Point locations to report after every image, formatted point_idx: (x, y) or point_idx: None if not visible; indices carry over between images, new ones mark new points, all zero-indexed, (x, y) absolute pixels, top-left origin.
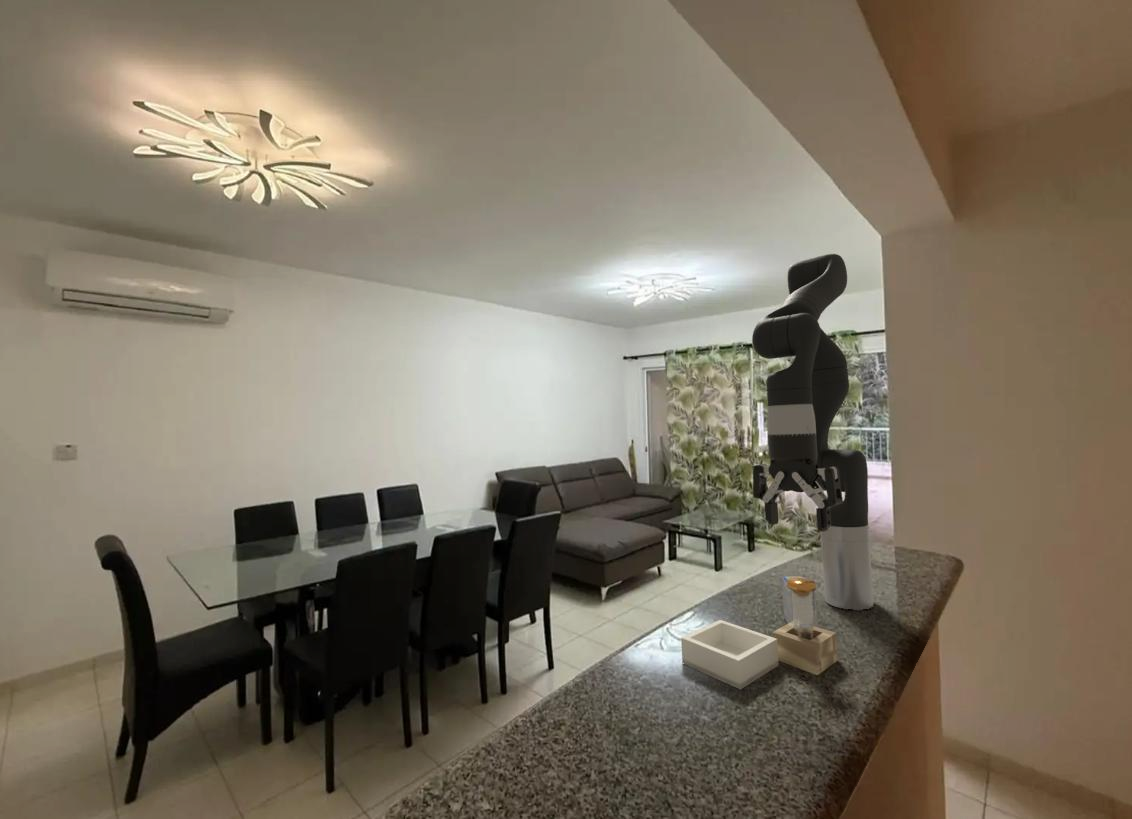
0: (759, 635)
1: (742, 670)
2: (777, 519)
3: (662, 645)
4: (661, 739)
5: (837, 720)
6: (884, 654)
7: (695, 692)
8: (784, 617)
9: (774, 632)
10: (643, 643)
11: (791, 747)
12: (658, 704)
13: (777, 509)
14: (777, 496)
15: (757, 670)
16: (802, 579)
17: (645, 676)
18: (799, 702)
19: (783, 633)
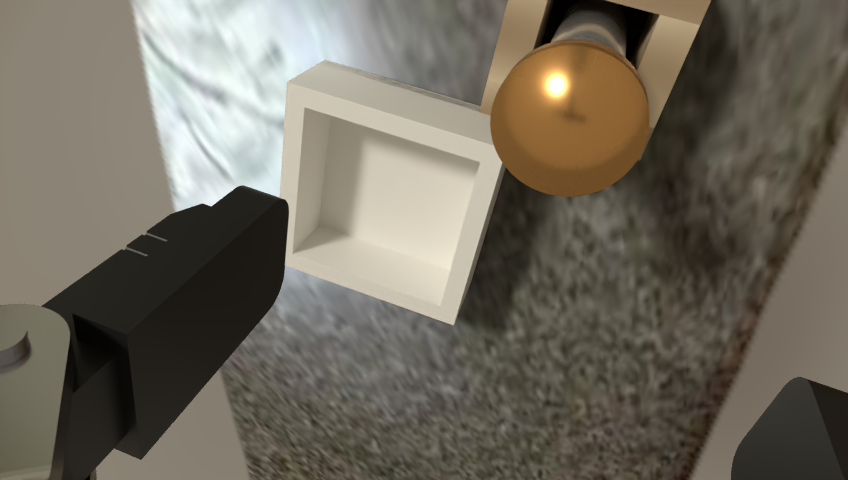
0: (447, 149)
1: (464, 296)
2: (265, 224)
3: (214, 157)
4: (417, 454)
5: (698, 316)
6: None
7: (395, 325)
8: None
9: (486, 111)
10: (175, 170)
11: (613, 419)
12: (361, 381)
13: (195, 276)
14: (66, 435)
15: (486, 227)
16: (568, 82)
17: (283, 307)
18: (607, 280)
19: None
